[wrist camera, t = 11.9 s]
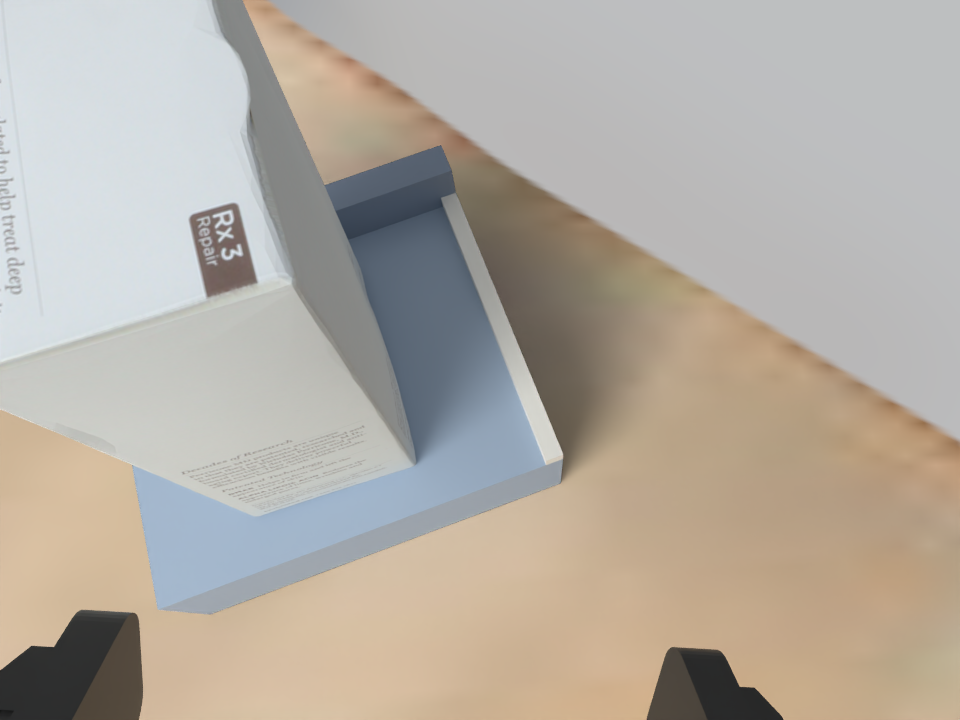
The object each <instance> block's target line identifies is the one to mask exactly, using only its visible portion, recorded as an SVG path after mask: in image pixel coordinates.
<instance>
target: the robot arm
mask: <svg viewBox="0 0 960 720" xmlns="http://www.w3.org/2000/svg"><path fill="white" fill-rule="evenodd" d="M142 698H143V681H142V664H141V647H140V631H139V620H138V616H137V615H136V614H135V613H127V612H110V611H94V610H80V611H79V612H77V613H76V614H75V615H74V617H73V618H72V620H71V621H70V623H69V624H68V626H67V627H66V629H65V631H64V632H63V634H62V635H61V637H60V639H59V640H58V642H57V643H56V645H55V647H41V646H31V647H30V648H28V649H27V650H26V651H24V652H23V653H22V654H21V655H19V656H18V657H17V658H16V659H14V660H13V661H12V662H11V663H9V664H8V665H7V666H5V667H4V668H3V669H2V670H0V720H139V716H140V712H141V706H142ZM647 720H783V718H782V716H781V715H780V714H779V713H778V712H777V711H776V710H775V709H774V708H773V707H772V706H771V705H770V704H769V702H768V701H767V700H766V699H765V698H764V697H763V696H762V695H761V694H760V693H759V692H758V691H757V690H756V689H755V688H749V687H739V685H738V683H737V680H736V678H735V676H734V674H733V672H732V670H731V668H730V666H729V664H728V661H727V660H726V658H725V656H724V655H723V653H722V652H720V651H719V650H711V649H694V648H677V647H672V648H670V649H669V650H668V651H667V653H666V656H665V659H664V662H663V665H662V669H661V672H660V675H659V679H658V682H657V686H656V689H655V692H654V696H653V699H652V702H651V706H650V709H649V712H648V716H647Z"/></svg>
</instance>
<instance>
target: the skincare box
mask: <svg viewBox="0 0 960 720" xmlns="http://www.w3.org/2000/svg"><path fill="white" fill-rule="evenodd" d="M0 409H1V410H3V411H6V412H8V413H10V414H13V415H15V416H17V417H20V418H22V419H25V420H27V421H29V422H32V423H34V424H37V425H39V426H42V427H44V428H47V429H49V430H52V431H54V432H56V433H59V434H61V435H63V436H66V437H68V438H70V439H73V440H75V441H77V442H80V443H82V444H85V445H87V446H89V447H92V448H94V449H96V450H98V451H101V452H103V453H105V454H108V455H110V456H112V457H115V458H117V459H119V460H122V461H124V462H126V463H129V464H131V465H134V466H136V467H138V468H141V469H143V470H146V471H148V472H150V473H153V474H155V475H158V476H160V477H162V478H165V479H167V480H169V481H172V482H174V483H176V484H178V485H181V486H183V487H186V488H188V489H191V490H193V491H194V492H197V493H199V494H202V495H204V496H207V497H209V498H212V499H214V500H216V501H219V502H221V503H223V504H226V505H228V506H230V507H233V508H235V509H237V510H240V511H242V512H245V513H247V514H249V515H252V516H255V517H258V516H262V515H265V514H268V513H271V512H274V511H277V510H280V509H283V508H286V507H289V506H292V505H295V504H298V503H301V502H304V501H307V500H310V499H313V498H316V497H319V496H323V495H326V494H329V493H332V492H335V491H338V490H341V489H345V488H348V487H351V486H354V485H357V484H360V483H363V482H367V481H370V480H373V479H376V478H379V477H382V476H385V475H388V474H391V473H395V472H398V471H402V470H405V469H408V468H411V467H413V466H415V465H416V463H417V462H416V456H415V450H414V445H413V441H412V437H411V433H410V428H409V424H408V420H407V417H406V413H405V409H404V406H403V402H402V398H401V394H400V391H399V387H398V383H397V380H396V377H395V373H394V370H393V367H392V364H391V361H390V358H389V355H388V352H387V349H386V346H385V343H384V340H383V337H382V334H381V331H380V328H379V325H378V322H377V320H376V317H375V314H374V312H373V309H372V307H371V305H370V302H369V299H368V296H367V292H366V288H365V283H364V279H363V275H362V272H361V269H360V266H359V264H358V261H357V259H356V257H355V255H354V253H353V250H352V248H351V245H350V243H349V241H348V239H347V236H346V234H345V232H344V230H343V228H342V225H341V223H340V220H339V218H338V216H337V214H336V212H335V209H334V207H333V204H332V202H331V200H330V197H329V195H328V193H327V190H326V188H325V186H324V183H323V181H322V179H321V177H320V174H319V172H318V170H317V168H316V166H315V163H314V161H313V159H312V157H311V154H310V152H309V150H308V148H307V145H306V143H305V141H304V139H303V136H302V134H301V132H300V129H299V127H298V125H297V123H296V120H295V118H294V116H293V114H292V112H291V109H290V107H289V105H288V103H287V100H286V98H285V96H284V94H283V91H282V89H281V87H280V85H279V82H278V80H277V78H276V76H275V73H274V71H273V69H272V66H271V64H270V62H269V60H268V57H267V55H266V53H265V51H264V48H263V46H262V44H261V42H260V39H259V37H258V35H257V32H256V30H255V28H254V26H253V23H252V21H251V19H250V17H249V14H248V12H247V10H246V8H245V5H244V3H243V1H242V0H0Z"/></svg>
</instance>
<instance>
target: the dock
mask: <svg viewBox="0 0 960 720" xmlns="http://www.w3.org/2000/svg"><path fill="white" fill-rule="evenodd" d="M324 186H325V188H326V190H327V193H328V195H329V197H330V200H331V202H332V204H333V207H334V209H335V212H336V214H337V216H338V218H339V220H340V223H341V225H342V228H343V230H344V232H345V234H346V236H347V239H348V241H349V243H350V245H351V248H352V250H353V253H354V255H355V257H356V259H357V261H358V264H359V266H360V269H361V272H362V275H363V279H364V283H365V288H366V292H367V296H368V299H369V302H370V305H371V307H372V309H373V312H374V314H375V317H376V320H377V322H378V325H379V328H380V331H381V334H382V337H383V340H384V343H385V346H386V349H387V352H388V355H389V358H390V361H391V364H392V367H393V370H394V373H395V377H396V380H397V383H398V387H399V391H400V394H401V398H402V402H403V406H404V409H405V413H406V417H407V420H408V424H409V428H410V433H411V437H412V441H413V445H414V450H415V456H416V462H417V463H416V465H415V466H413V467H411V468H408V469H405V470H402V471H398V472H395V473H391V474H388V475H385V476H382V477H379V478H376V479H373V480H370V481H367V482H363V483H360V484H357V485H354V486H351V487H348V488H345V489H341V490H338V491H335V492H332V493H329V494H326V495H323V496H319V497H316V498H313V499H310V500H307V501H304V502H301V503H298V504H295V505H292V506H289V507H286V508H283V509H280V510H277V511H274V512H271V513H268V514H265V515H262V516H258V517H255V516H252V515H249V514H247V513H245V512H242V511H240V510H237V509H235V508H233V507H230V506H228V505H226V504H223V503H221V502H219V501H216V500H214V499H212V498H209V497H207V496H204V495H202V494H199V493H197V492H194V491H193V490H191V489H188V488H186V487H183V486H181V485H178V484H176V483H174V482H172V481H169V480H167V479H165V478H162V477H160V476H158V475H155V474H153V473H150V472H148V471H146V470H143V469H141V468H138V467H136V466H134V465H132V467H133V472H134V478H135V484H136V489H137V495H138V501H139V506H140V512H141V517H142V523H143V529H144V534H145V540H146V546H147V551H148V557H149V562H150V568H151V574H152V579H153V585H154V591H155V596H156V602H157V607H158V610H166V611H177V612H188V613H200V614H213V613H215V612H218V611H221V610H223V609H226V608H229V607H231V606H234V605H237V604H239V603H242V602H245V601H247V600H250V599H253V598H255V597H258V596H261V595H263V594H266V593H269V592H271V591H274V590H277V589H279V588H282V587H285V586H287V585H290V584H293V583H295V582H298V581H301V580H303V579H306V578H309V577H312V576H314V575H317V574H320V573H322V572H325V571H328V570H330V569H333V568H336V567H338V566H341V565H344V564H346V563H349V562H352V561H354V560H357V559H360V558H362V557H365V556H368V555H370V554H373V553H376V552H378V551H381V550H384V549H386V548H389V547H392V546H394V545H397V544H400V543H402V542H405V541H408V540H410V539H413V538H416V537H418V536H421V535H424V534H426V533H429V532H432V531H434V530H437V529H440V528H443V527H445V526H448V525H451V524H453V523H456V522H459V521H461V520H464V519H467V518H469V517H472V516H475V515H477V514H480V513H483V512H485V511H488V510H491V509H493V508H496V507H499V506H501V505H504V504H507V503H509V502H512V501H515V500H517V499H520V498H523V497H525V496H528V495H531V494H533V493H536V492H539V491H541V490H544V489H547V488H549V487H552V486H555V485H557V484H560V483H561V473H562V463H563V452H562V450H561V448H560V445H559V443H558V440H557V438H556V435H555V433H554V431H553V428H552V426H551V423H550V421H549V418H548V416H547V413H546V411H545V409H544V406H543V404H542V401H541V399H540V396H539V394H538V392H537V389H536V387H535V384H534V382H533V379H532V377H531V374H530V372H529V370H528V367H527V365H526V362H525V360H524V357H523V355H522V353H521V350H520V348H519V345H518V343H517V340H516V338H515V336H514V333H513V331H512V328H511V326H510V323H509V321H508V318H507V316H506V314H505V311H504V309H503V306H502V304H501V301H500V299H499V297H498V294H497V292H496V289H495V287H494V284H493V282H492V279H491V277H490V275H489V272H488V270H487V267H486V265H485V262H484V260H483V258H482V255H481V253H480V250H479V248H478V245H477V243H476V240H475V238H474V236H473V233H472V231H471V228H470V226H469V223H468V221H467V219H466V216H465V214H464V211H463V209H462V206H461V204H460V201H459V199H458V197H457V194H456V191H455V186H454V181H453V175H452V170H451V168H450V166H449V163H448V161H447V158H446V156H445V153H444V151H443V149H442V146H441V145H440V146H437V147H434V148H431V149H428V150H425V151H423V152H420V153H417V154H414V155H411V156H408V157H405V158H402V159H399V160H397V161H394V162H391V163H388V164H385V165H382V166H379V167H376V168H373V169H371V170H368V171H365V172H362V173H359V174H356V175H353V176H350V177H348V178H345V179H342V180H339V181H336V182H333V183H330V184H327V185H324Z"/></svg>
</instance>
